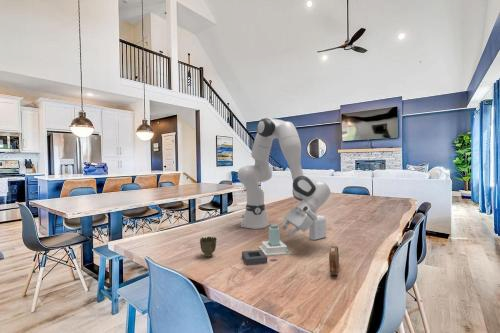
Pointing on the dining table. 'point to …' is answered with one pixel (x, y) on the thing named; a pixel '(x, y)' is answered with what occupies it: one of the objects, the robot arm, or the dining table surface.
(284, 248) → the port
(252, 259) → the holster
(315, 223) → the photo printer
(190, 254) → the dining table surface
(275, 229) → the plug
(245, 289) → the dining table surface
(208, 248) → the cup
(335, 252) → the tin
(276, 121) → the robot arm
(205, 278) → the dining table surface
